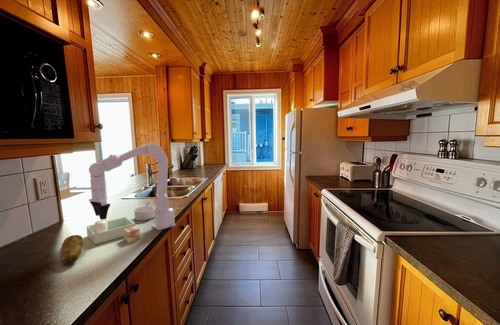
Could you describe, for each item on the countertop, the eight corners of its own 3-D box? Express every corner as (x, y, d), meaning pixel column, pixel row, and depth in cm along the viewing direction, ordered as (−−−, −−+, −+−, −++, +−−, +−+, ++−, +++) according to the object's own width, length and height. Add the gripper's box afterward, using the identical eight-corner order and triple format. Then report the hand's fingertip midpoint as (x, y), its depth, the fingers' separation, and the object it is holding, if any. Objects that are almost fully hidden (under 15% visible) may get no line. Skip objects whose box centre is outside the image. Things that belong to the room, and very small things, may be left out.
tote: (126, 225, 120) (125, 216, 119) (135, 233, 111) (135, 223, 110) (87, 236, 107) (86, 226, 107) (94, 245, 98) (93, 234, 98)
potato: (48, 269, 80) (46, 248, 80) (68, 251, 93) (67, 233, 92) (75, 266, 82) (73, 246, 81) (91, 249, 95) (90, 231, 94)
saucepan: (158, 209, 147) (158, 201, 147) (154, 220, 128) (154, 210, 128) (139, 211, 144) (138, 202, 143) (132, 222, 125) (131, 212, 124)
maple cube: (135, 235, 108) (135, 225, 108) (139, 239, 105) (139, 228, 104) (124, 239, 105) (123, 229, 104) (128, 242, 101) (127, 232, 101)
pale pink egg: (106, 233, 110) (105, 219, 109) (109, 236, 106) (108, 222, 105) (94, 236, 106) (93, 222, 105) (97, 239, 103) (96, 225, 102)
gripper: (84, 187, 106) (87, 215, 107) (92, 193, 96) (95, 223, 97) (102, 185, 111) (104, 212, 112) (111, 190, 101) (113, 219, 102)
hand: (101, 217), depth 105 cm, fingers open, 7 cm apart
